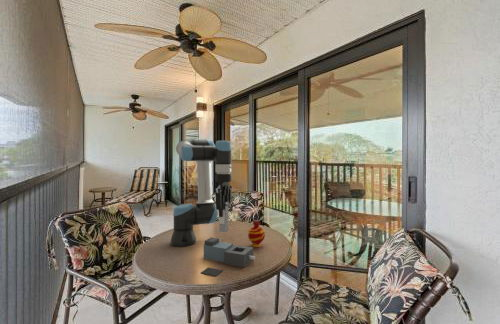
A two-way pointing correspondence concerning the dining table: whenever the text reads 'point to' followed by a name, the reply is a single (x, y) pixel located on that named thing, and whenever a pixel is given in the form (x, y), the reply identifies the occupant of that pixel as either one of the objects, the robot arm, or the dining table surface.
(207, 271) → the mat
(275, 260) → the dining table surface
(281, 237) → the dining table surface
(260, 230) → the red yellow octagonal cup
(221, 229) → the gray block with peg
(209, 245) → the block with square socket
